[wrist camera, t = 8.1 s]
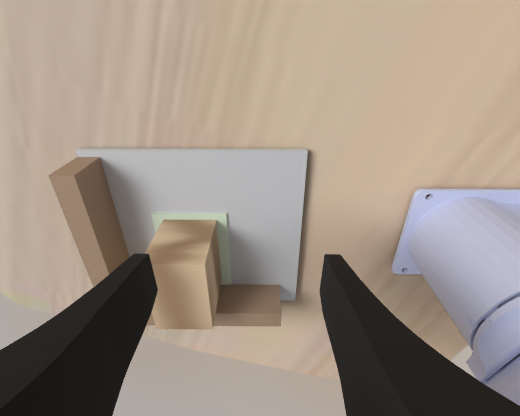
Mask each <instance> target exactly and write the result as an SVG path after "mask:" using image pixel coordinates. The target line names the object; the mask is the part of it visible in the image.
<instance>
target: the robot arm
mask: <svg viewBox="0 0 520 416" xmlns="http://www.w3.org/2000/svg"><path fill="white" fill-rule="evenodd" d="M428 194H430V196H429V197H426V195H428ZM425 197H426V198H425ZM403 268H405V269H403ZM391 269H392V271H393V273H394V274H422V276H423V277H424V279H425V280H426V282H427V283H428V285H429V286H430V288H431V289H432V291H433V292H434V294H435V295H436V297H437V298H438V300H439V301H440V303H441V304H442V306H443V307H444V309H445V310H446V312H447V313H448V315H449V316H450V318H451V319H452V321H453V322H454V324H455V325H456V327H457V328H458V330H459V331H460V333H461V334H462V336H463V337H464V339H465V340H466V342H467V343H468V345H469V346H470V348H471V349H472V350H473V354H472V355H471V357H470V358H469V359H468V360H467V364H468V366H469V367H470V369H471V371H472V372H473V374H474V375H475V377H476V379H475V378H474V377H472V376H471V375H470V374H468V373H466V372H465V371H464V370H462V369H461V368H459V367H458V366H456V365H455V364H454V363H452V362H451V361H449V360H448V359H447V358H445V357H444V356H442V355H441V354H440V353H438V352H437V351H436V350H435V349H433V348H432V347H431V346H429V345H428V344H427V343H425V342H424V341H423V340H422V339H420V338H419V337H418V336H417V335H416V334H414V333H413V332H412V331H411V330H410V329H409V328H407V327H406V326H405V325H404V324H403V323H402V322H401V321H399V320H398V319H397V318H396V317H395V316H394V315H393V314H392V313H391V312H390V311H389V310H388V309H387V308H386V307H385V306H384V305H383V304H382V303H381V302H380V301H379V300H378V299H377V298H376V297H375V295H374V294H373V293H372V292H371V291H370V290H369V289H368V288H367V286H366V285H365V284H364V283H363V282H362V281H361V280H360V278H359V277H358V276H357V275H356V274H355V272H354V271H353V270H352V269H351V267H350V266H349V265H348V264H347V262H346V261H345V260H344V259H343V257H342V256H341V255H334V254H325V256H324V264H323V271H322V278H321V285H320V297H321V304H322V310H323V316H324V319H325V323H326V327H327V331H328V334H329V338H330V342H331V345H332V349H333V353H334V357H335V360H336V364H337V368H338V372H339V376H340V380H341V386H342V392H343V398H344V403H345V409H346V415H347V416H520V189H418V190H416V191H415V192H414V194H413V197H412V200H411V203H410V207H409V210H408V213H407V217H406V220H405V223H404V227H403V230H402V233H401V237H400V240H399V243H398V247H397V250H396V254H395V257H394V260H393V264H392V267H391ZM157 292H158V288H157V284H156V280H155V276H154V272H153V268H152V264H151V260H150V256H149V254H139V253H134V254H133V255H132V256H130V257H129V258H128V259H127V260H126V261H124V262H123V263H122V264H121V265H120V266H119V267H117V268H116V269H115V270H114V271H113V272H111V273H110V274H109V275H108V276H107V277H105V278H104V279H103V280H102V281H101V282H99V283H98V284H97V285H96V286H95V287H93V288H92V289H91V290H90V291H88V292H87V293H86V294H84V295H83V296H82V297H81V298H79V299H78V300H77V301H75V302H74V303H73V304H71V305H70V306H69V307H67V308H66V309H65V310H63V311H62V312H60V313H59V314H58V315H56V316H55V317H53V318H52V319H50V320H49V321H47V322H46V323H44V324H43V325H41V326H40V327H38V328H37V329H35V330H33V331H32V332H30V333H28V334H27V335H25V336H23V337H22V338H20V339H18V340H17V341H15V342H13V343H12V344H10V345H9V346H7V347H5V348H3V349H1V350H0V416H112V415H113V411H114V408H115V404H116V402H117V398H118V396H119V392H120V389H121V386H122V383H123V380H124V377H125V375H126V372H127V369H128V367H129V364H130V362H131V360H132V357H133V355H134V353H135V350H136V348H137V346H138V343H139V341H140V339H141V337H142V334H143V332H144V330H145V327H146V325H147V322H148V320H149V318H150V315H151V313H152V309H153V306H154V303H155V299H156V295H157Z"/></svg>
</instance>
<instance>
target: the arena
mask: <svg viewBox="0 0 520 416" xmlns="http://www.w3.org/2000/svg"><path fill="white" fill-rule="evenodd" d="M76 153H77V156H78V157H77V158H75V159H74V160H72V161H71V162H69V163H68V164H66V165H64V166H63V167H61V168H60V169H58V170H57V171H55V172H53V173H52V174H50V175H49V178H50V180H51V183H52V185H53V188H54V190H55V193H56V195H57V198H58V200H59V203H60V205H61V208H62V210H63V213H64V215H65V218H66V220H67V222H68V225H69V227H70V230H71V232H72V235H73V237H74V240H75V242H76V245H77V247H78V250H79V252H80V255H81V257H82V260H83V262H84V264H85V267H86V269H87V272H88V274H89V277H90V279H91V282H92V284H93V287H95V286H96V285H97V284H98V283H99V282H101V281H102V280H103V279H104V278H105V277H107V276H108V275H109V274H110V273H111V272H113V271H114V270H115V269H116V268H117V267H119V266H120V265H121V264H122V263H123V262H124V261H126V260H127V259H128V258H129V257H130V256H132V255H133V254H134V253H139V254H145V252H146V250H147V248H148V246H149V245H150V243H151V241H152V239H153V237H154V236H155V234H156V232H157V230H158V228H159V227H160V225H161V223H162V221H163V219H167V220H216V221H217V233H218V244H219V255H220V267H221V278H222V279H221V285H220V291H219V296H218V302H217V308H216V313H215V319H214V325H213V326H281V301H295V298H296V286H297V274H298V262H299V250H300V238H301V226H302V215H303V203H304V191H305V179H306V167H307V155H308V150H307V149H84V148H79V149H77V150H76ZM147 325H155V322H154V318H153V314H152V313H151V315H150V318H149V320H148V322H147Z"/></svg>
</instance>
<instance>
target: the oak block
mask: <svg viewBox="0 0 520 416" xmlns="http://www.w3.org/2000/svg"><path fill="white" fill-rule="evenodd" d="M145 254H149V256H150V260H151V264H152V268H153V272H154V276H155V280H156V284H157V288H158V292H157V295H156V299H155V303H154V306H153V309H152V314H153V318H154V322H155V325H156V329H213V325H214V319H215V313H216V308H217V302H218V296H219V291H220V285H221V279H222V278H221V267H220V255H219V244H218V233H217V221H216V220H167V219H163V221H162V223H161V225H160V227H159V228H158V230H157V232H156V234H155V236H154V237H153V239H152V241H151V243H150V245H149V246H148V248H147V250H146V252H145Z"/></svg>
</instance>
